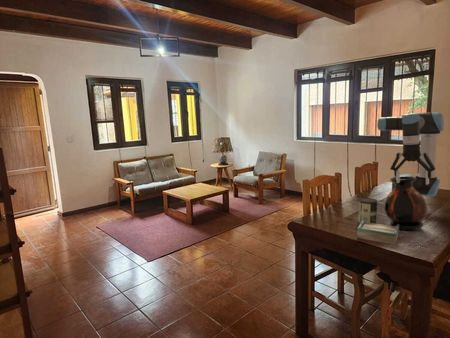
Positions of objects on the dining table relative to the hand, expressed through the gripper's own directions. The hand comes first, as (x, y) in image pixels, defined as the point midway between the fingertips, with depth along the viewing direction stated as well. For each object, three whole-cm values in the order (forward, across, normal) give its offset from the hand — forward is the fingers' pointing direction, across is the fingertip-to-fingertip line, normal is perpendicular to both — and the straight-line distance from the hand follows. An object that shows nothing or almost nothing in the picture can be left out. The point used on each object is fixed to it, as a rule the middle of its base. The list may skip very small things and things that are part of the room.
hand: (412, 183), depth 159 cm
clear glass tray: (+26, -13, -16) cm, 33 cm away
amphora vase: (+27, -6, +7) cm, 29 cm away
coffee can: (+27, -26, +2) cm, 37 cm away
